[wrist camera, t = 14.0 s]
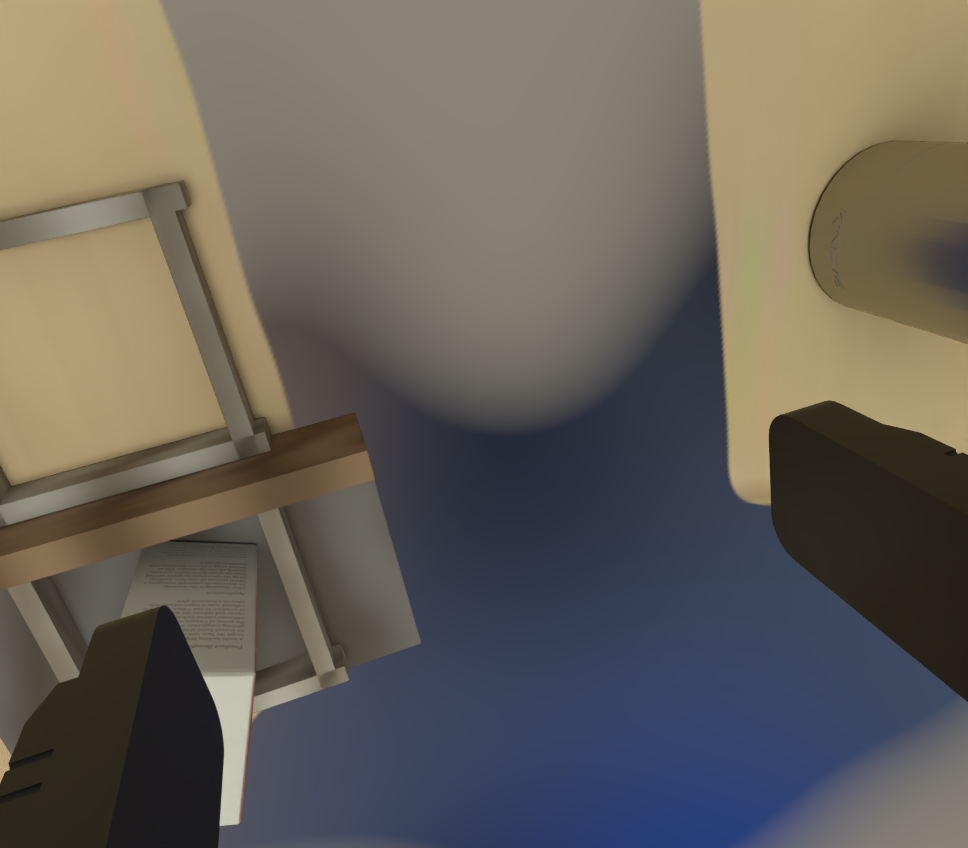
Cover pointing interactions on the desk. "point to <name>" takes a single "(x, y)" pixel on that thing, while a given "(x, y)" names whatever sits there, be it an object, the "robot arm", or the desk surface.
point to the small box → (211, 634)
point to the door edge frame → (198, 516)
